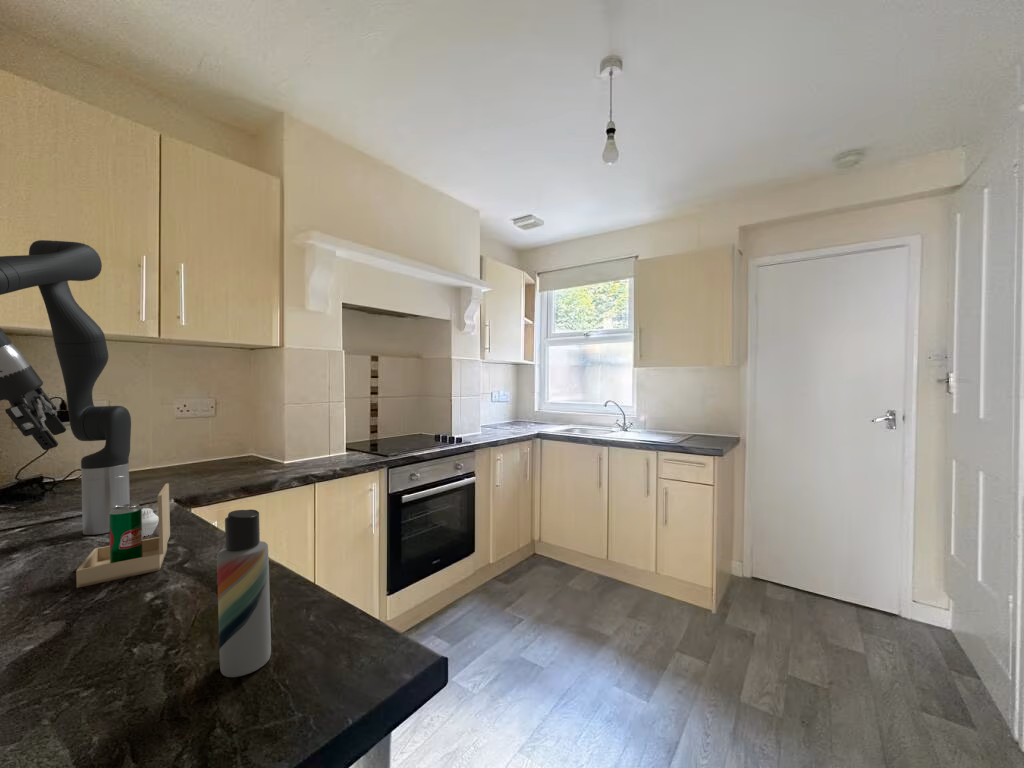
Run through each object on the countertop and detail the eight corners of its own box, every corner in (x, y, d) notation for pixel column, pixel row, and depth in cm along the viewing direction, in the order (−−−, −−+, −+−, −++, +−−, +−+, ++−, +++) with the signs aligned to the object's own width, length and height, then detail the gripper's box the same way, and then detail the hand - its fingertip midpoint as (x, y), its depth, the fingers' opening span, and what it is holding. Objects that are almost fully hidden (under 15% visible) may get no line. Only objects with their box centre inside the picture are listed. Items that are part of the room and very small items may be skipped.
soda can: (122, 569, 85) (121, 510, 85) (103, 567, 86) (102, 509, 86) (148, 559, 90) (147, 503, 90) (130, 557, 91) (129, 502, 91)
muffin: (152, 530, 112) (151, 503, 112) (165, 532, 109) (164, 505, 109) (122, 537, 106) (122, 510, 106) (135, 540, 103) (134, 512, 103)
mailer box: (95, 563, 90) (93, 492, 90) (170, 548, 97) (168, 483, 97) (76, 587, 79) (74, 506, 79) (163, 569, 86) (161, 495, 86)
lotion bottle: (235, 651, 58) (232, 506, 58) (279, 648, 58) (275, 504, 58) (209, 680, 52) (205, 519, 52) (257, 676, 52) (253, 516, 53)
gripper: (18, 373, 78) (73, 444, 85) (37, 356, 88) (84, 421, 95) (-39, 389, 74) (23, 462, 81) (-13, 369, 85) (40, 436, 92)
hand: (56, 440), depth 88 cm, fingers open, 8 cm apart
